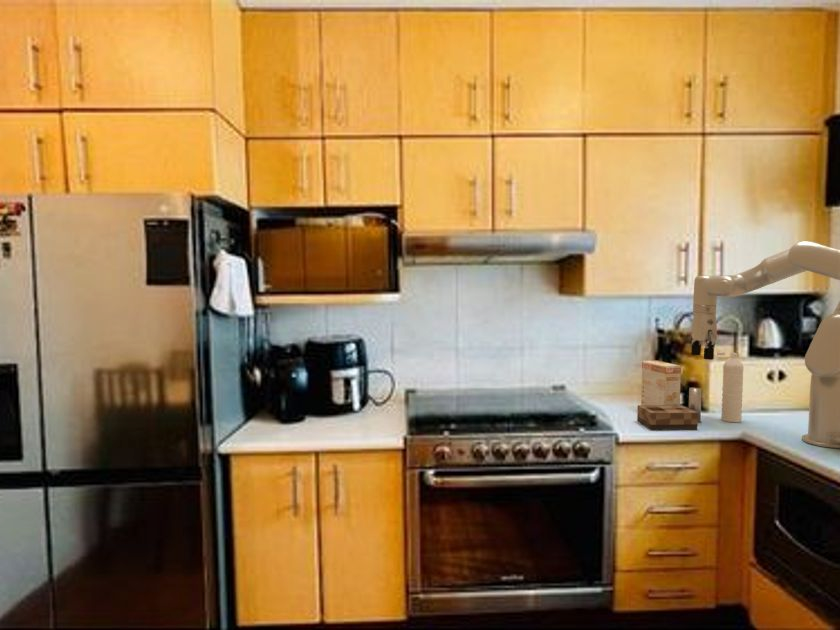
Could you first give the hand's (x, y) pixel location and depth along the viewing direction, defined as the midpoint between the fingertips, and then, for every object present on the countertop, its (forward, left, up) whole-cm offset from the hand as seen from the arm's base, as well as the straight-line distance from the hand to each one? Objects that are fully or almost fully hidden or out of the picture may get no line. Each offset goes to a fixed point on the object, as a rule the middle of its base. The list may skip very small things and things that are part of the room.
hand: (702, 357), depth 208 cm
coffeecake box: (+13, +9, -24) cm, 28 cm away
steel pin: (0, +2, -24) cm, 24 cm away
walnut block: (-6, +15, -24) cm, 29 cm away
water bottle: (+1, -11, -24) cm, 26 cm away
